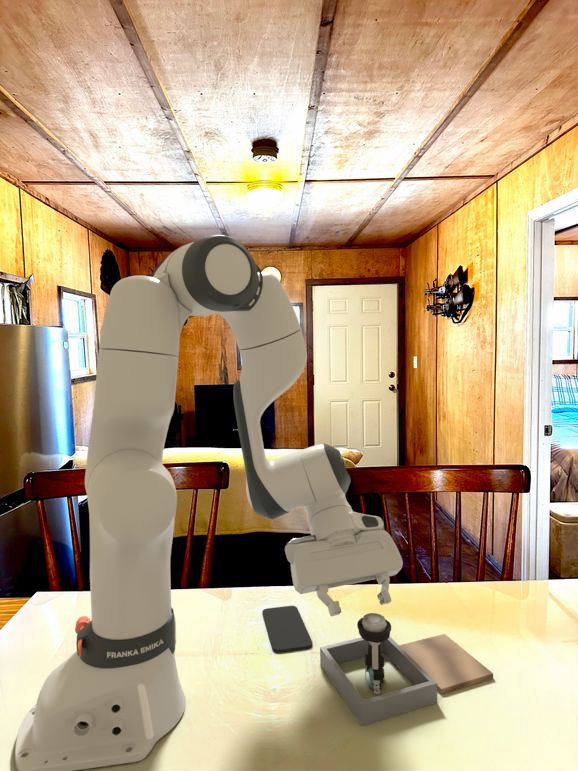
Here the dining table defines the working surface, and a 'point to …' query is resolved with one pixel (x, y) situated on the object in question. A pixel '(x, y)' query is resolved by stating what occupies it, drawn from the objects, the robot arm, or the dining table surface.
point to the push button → (374, 646)
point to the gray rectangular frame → (386, 703)
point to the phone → (286, 629)
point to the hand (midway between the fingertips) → (361, 608)
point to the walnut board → (447, 663)
